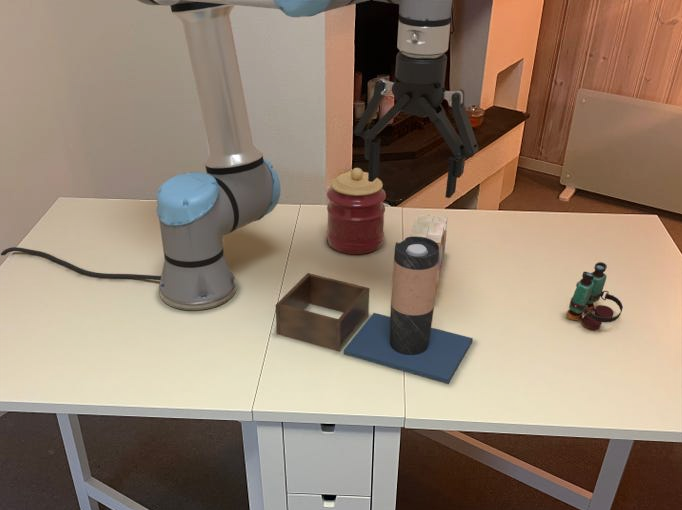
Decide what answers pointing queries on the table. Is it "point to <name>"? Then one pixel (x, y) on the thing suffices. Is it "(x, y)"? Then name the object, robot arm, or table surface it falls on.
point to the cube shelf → (318, 326)
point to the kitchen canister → (355, 213)
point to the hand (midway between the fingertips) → (411, 186)
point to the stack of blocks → (432, 234)
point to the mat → (430, 364)
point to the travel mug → (413, 294)
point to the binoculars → (592, 299)
